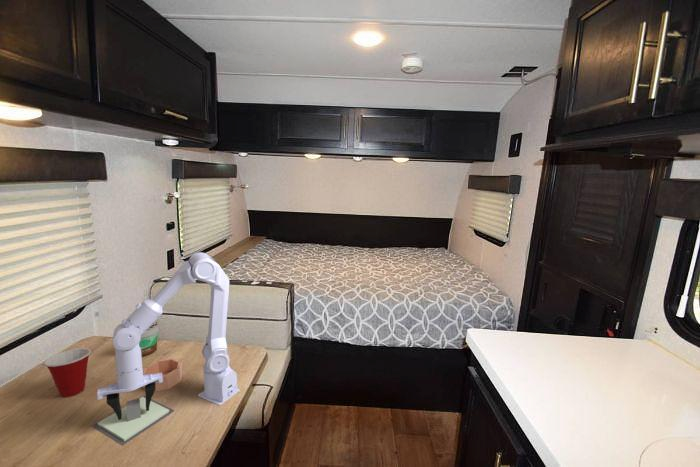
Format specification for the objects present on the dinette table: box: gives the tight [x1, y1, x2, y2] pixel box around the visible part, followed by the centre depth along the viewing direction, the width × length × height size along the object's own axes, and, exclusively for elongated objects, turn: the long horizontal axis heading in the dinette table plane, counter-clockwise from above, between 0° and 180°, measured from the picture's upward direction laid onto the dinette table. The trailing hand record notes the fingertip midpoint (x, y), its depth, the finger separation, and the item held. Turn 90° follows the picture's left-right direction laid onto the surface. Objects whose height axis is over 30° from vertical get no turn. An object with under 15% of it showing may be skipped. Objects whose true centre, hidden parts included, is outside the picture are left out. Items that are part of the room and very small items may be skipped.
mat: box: [91, 395, 175, 446], centre depth 90 cm, size 14×14×1 cm
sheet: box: [98, 396, 169, 441], centre depth 90 cm, size 12×12×5 cm
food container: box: [139, 321, 160, 358], centre depth 123 cm, size 12×6×10 cm, turn 143°
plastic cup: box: [43, 347, 92, 398], centre depth 100 cm, size 11×11×12 cm
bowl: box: [142, 357, 183, 392], centre depth 106 cm, size 11×11×5 cm
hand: (134, 413), depth 90 cm, fingers open, 6 cm apart
